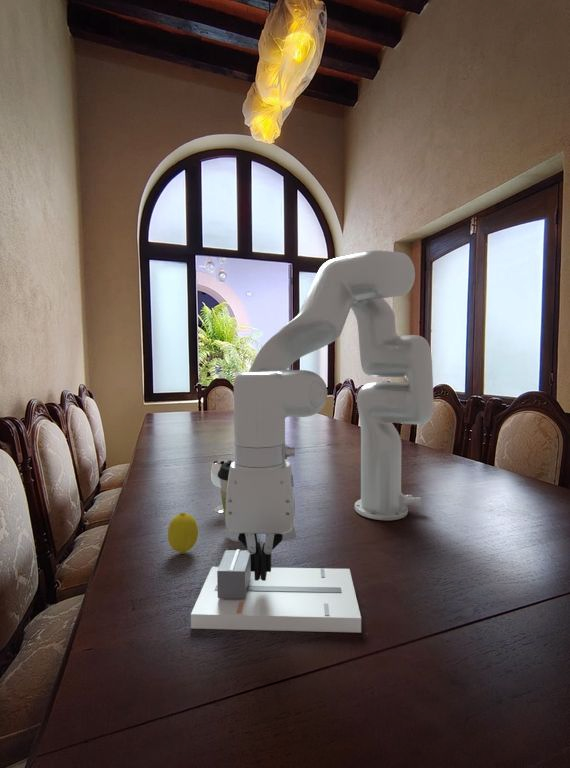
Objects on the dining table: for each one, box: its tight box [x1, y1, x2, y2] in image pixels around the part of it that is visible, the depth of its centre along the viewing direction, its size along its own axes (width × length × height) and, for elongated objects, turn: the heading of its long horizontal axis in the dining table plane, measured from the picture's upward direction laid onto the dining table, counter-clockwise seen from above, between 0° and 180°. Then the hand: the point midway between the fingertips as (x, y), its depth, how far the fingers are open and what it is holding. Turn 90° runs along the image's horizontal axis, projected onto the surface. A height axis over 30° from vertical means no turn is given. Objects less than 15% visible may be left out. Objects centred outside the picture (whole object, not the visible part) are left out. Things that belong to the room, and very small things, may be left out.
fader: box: [217, 548, 251, 599], centre depth 56 cm, size 4×6×4 cm, turn 178°
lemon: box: [167, 511, 199, 555], centre depth 70 cm, size 6×6×8 cm
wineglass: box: [210, 459, 232, 514], centre depth 92 cm, size 6×6×12 cm
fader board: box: [190, 566, 362, 633], centre depth 56 cm, size 23×12×2 cm, turn 88°
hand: (261, 575), depth 56 cm, fingers closed
